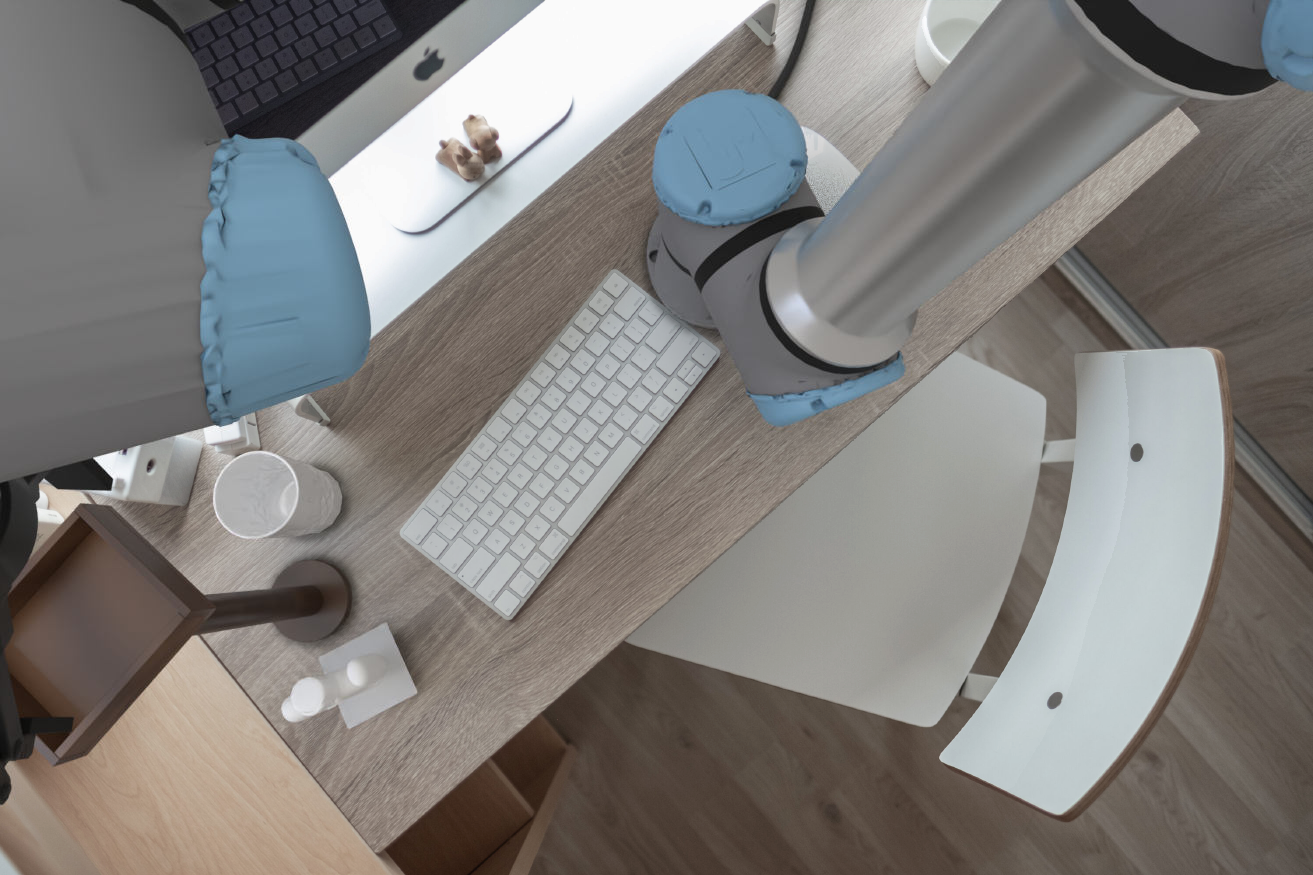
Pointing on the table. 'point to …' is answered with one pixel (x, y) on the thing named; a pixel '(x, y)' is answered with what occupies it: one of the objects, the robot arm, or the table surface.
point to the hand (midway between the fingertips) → (65, 599)
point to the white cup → (274, 497)
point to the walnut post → (288, 603)
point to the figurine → (354, 680)
